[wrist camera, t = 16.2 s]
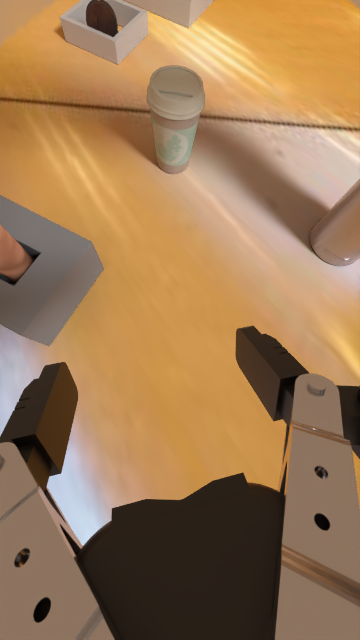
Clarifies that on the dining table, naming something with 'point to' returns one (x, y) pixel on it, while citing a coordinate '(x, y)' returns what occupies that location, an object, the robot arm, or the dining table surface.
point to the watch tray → (103, 43)
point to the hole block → (45, 274)
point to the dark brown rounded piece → (101, 17)
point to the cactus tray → (175, 9)
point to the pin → (13, 257)
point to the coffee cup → (174, 114)
